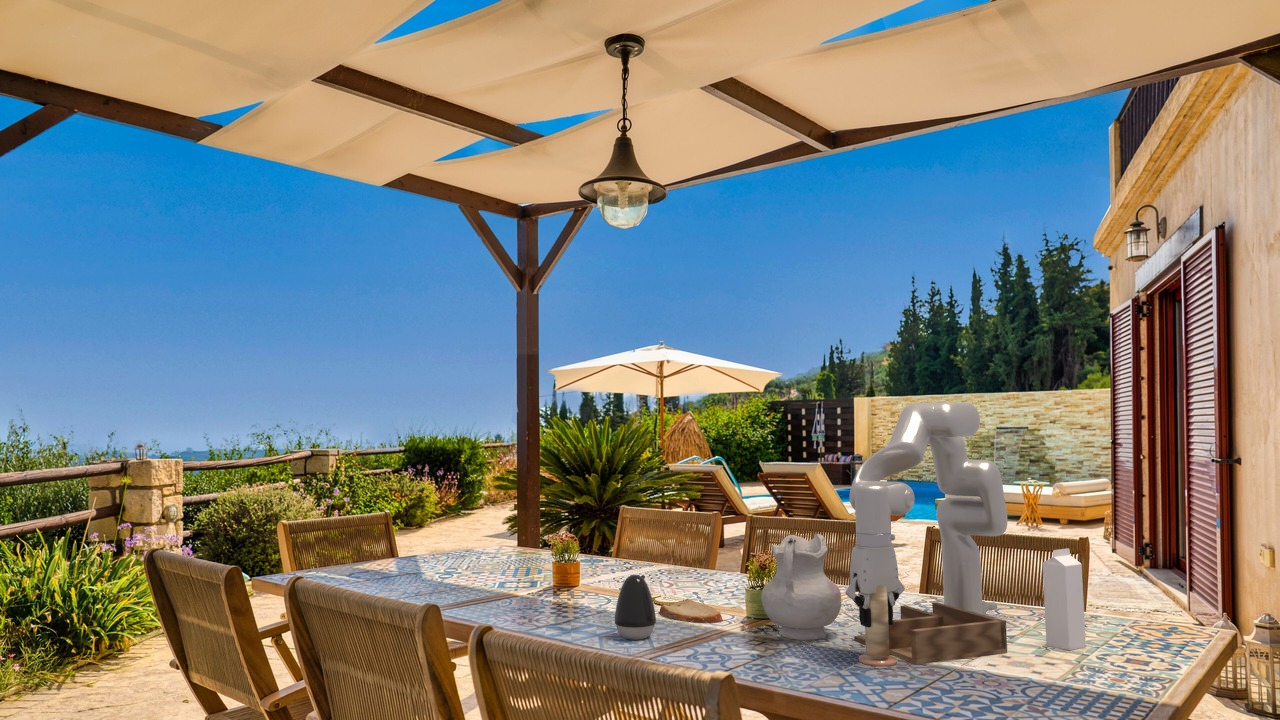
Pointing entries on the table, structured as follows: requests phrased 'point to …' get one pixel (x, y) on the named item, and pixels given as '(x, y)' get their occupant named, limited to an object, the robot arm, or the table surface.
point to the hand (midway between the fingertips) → (876, 624)
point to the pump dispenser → (635, 609)
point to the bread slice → (691, 612)
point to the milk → (1064, 601)
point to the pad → (877, 660)
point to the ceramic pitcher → (801, 589)
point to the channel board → (944, 635)
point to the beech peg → (878, 624)
